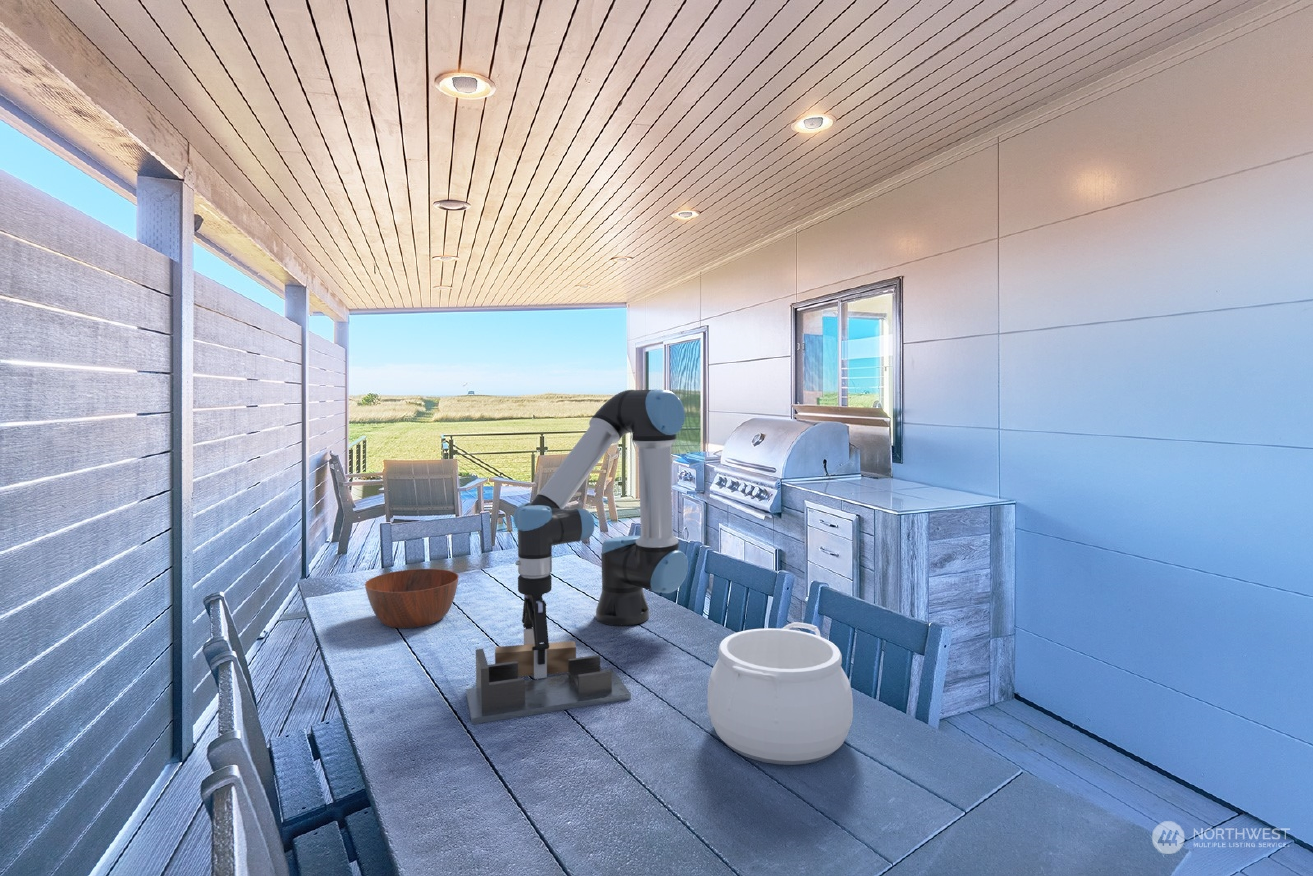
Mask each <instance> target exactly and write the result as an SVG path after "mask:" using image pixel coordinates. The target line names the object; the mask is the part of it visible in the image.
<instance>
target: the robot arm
mask: <svg viewBox="0 0 1313 876" xmlns="http://www.w3.org/2000/svg"><path fill="white" fill-rule="evenodd" d="M685 414H686V413H685V408H684V405H683V403H682V401H681V399H680V398H679V397H678V395H677V394H676V393H674V392H672V391H671V390H667V389H659V388H654V389H626V390H623V391H621V392H618V393H617V394H614V395H613V396H612V397H611V398H609V399H608V400H607V401H606V402H605V403H603V405H601V407H600V408H599V409H598V410H597V411H596V412H595V414H594V415H592V417H591V419H590V420H589V422H588V423H589V424H588V425H589V427H588V428H587V429H586V431H585V432H584V434H583V435H582V436H581V437H580V438H579V440H578V442H577V443H576V444H575V445H574V447H572V449H571V451H570V452H569V453H568V455H566V457H565V458H564V460H563V461H562V462H561V463H560V465H559V466H558V467H557V469H556V470H555V471H554V472H553V474H552V475H551V476H550V478H549V479H548V480H547V482H546V483H545V484H544V485H543V486H542V488H541V490H539V492H538V493H537V495H536V496H534V498H533V499H532V501H531V502H524V503H522V504H520V505H518V506H517V508H516V509H515V511H514V514H513V523H514V526H515V527H516V529H517V553H518V554H517V555H518V560H516V561H515V566H517V570H518V571H517V573H518V574H519V575H518V577H517V591H518V593H519V594H521V595H523V597H524V598H523V609H522V616H521V617H522V619H521V622H522V627H523V645H529V644H535V646H534V647H532V651H533V650H534V676H533V680H534V679H541V678H548V674H547V649H549V643H550V641H549V633H548V632H549V631H548V630H549V629H548V621H547V618H548V617H547V603H546V601H545V600H544V599H543V595H544V594H548V593H550V592H551V591H552V577H553V576H552V575H551V573H552V570H553V568H552V567H553V566H552V565H553V561H552V560H553V558H552V557H553V553H552V552H553V551H552V550H553V549H552V547H553V546H558V545H563V544H565V545H566V544H569V543H576V542H577V543H579V542H582V541H585V540H588V539H590V537H592V535H593V534H594V531H595V519H594V517H593V514H592V513H591V512H590V511H589V510H587V509H585V508H582V509H581V508H579V509H578V508H575V509H565V507H566V506H567V505H568V504H569V502H570V501H571V499H572V498H573V496H575V494H576V493H577V492H578V490H579V489H580V488H581V486H582V485H583V483H584V482H585V481H586V479H587V478H588V477H589V475H590V474H591V472H592V471H593V470H594V469H595V467H596V466H597V464H598V463H599V462H600V460H601V459H602V458H603V457H604V455H605V454H606V453H607V451H608V450H609V448H611V446H612V444H617V443H619V441H620V440H621V438H622V437H624V436H625V435H627V434H630V433H631V434H632V435H631V436H632V437H631V438H632V442H633V444H635V446H636V447H637V448H638V479H639V480H638V481H639V485H638V486H639V509H640V510H639V513H640V515H639V517H640V535H623V536H615V537H609V538H607V539H605V540H604V541H603V542H602V544H601V553H600V554H601V555H600V556H601V558H600V559H601V560H600V561H601V593H600V596H599V600H598V602H597V605H596V609H595V620H596V621H597V622H600V623H602V624H604V625H610V626H622V627H623V626H624V627H625V626H632V625H633V626H634V625H638V624H642V623H644V622H646V621H648V620H649V618H650V608H649V605H648V602H647V598H646V596H645V592H644V589H645V590H648V591H649V590H650V591H653V592H655V593H663V594H671V593H673V592H675V591H677V590H678V589H679V588H680V587H681V586H682V585H683V582H684V581H685V580H686V577H687V574H688V571H689V561H688V557H687V555H686V554H685V553H684V552H682V551H681V550H680V549H679V548H680V547H679V546H680V545H679V543H680V542H679V539H678V538H677V537H676V536H675V535H674V533H673V527H674V526H673V500H672V499H673V498H672V497H673V495H672V492H673V491H672V490H673V489H672V457H671V455H672V453H671V446H672V445H673V444H674V443H675V442H676V440H677V434H678V433H679V432H681V430H682V428H683V425H684V423H685V419H686V415H685ZM542 643H544V644H542Z"/></svg>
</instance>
